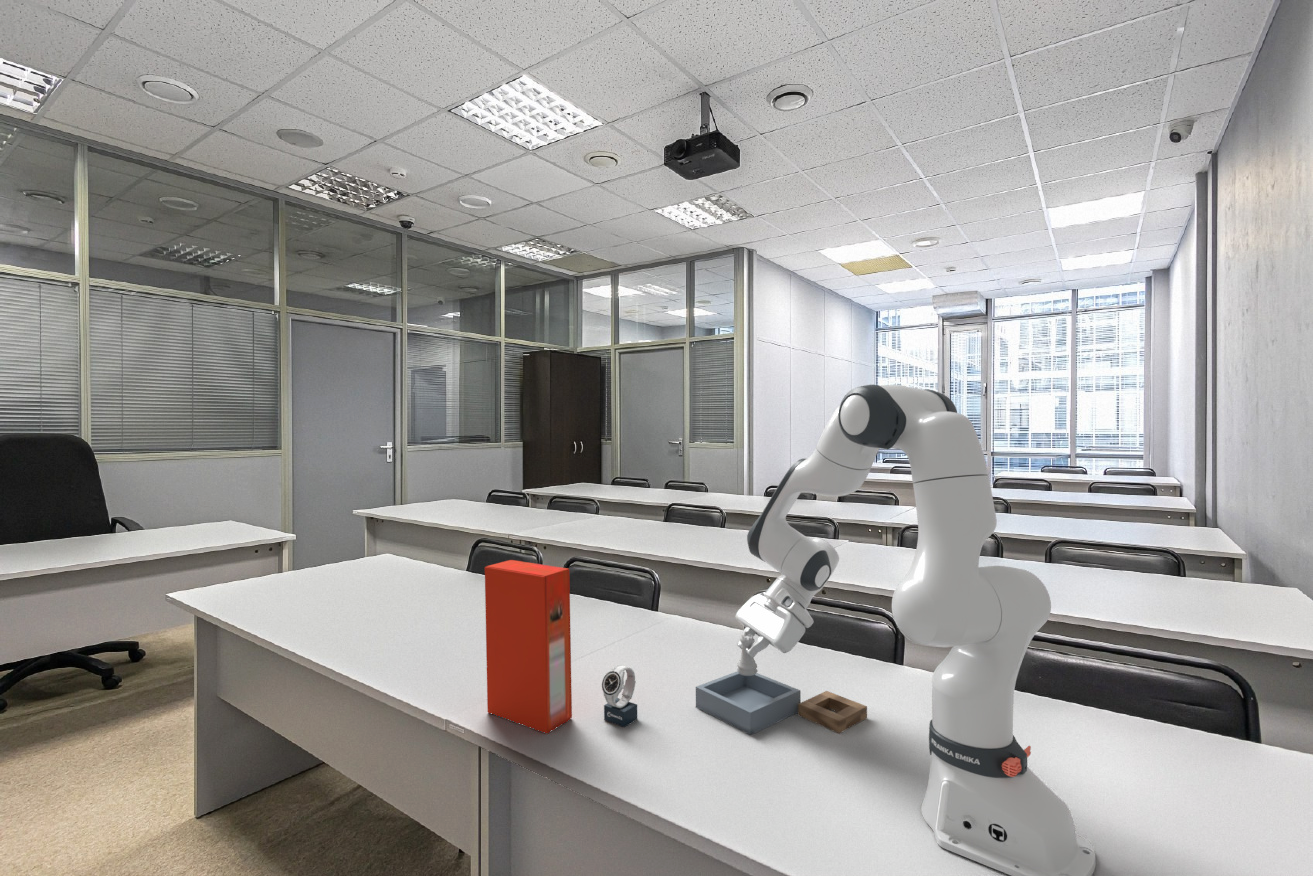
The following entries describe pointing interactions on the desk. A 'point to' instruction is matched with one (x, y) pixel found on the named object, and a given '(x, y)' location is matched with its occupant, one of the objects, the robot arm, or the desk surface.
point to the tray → (748, 701)
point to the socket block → (838, 722)
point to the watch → (612, 686)
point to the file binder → (528, 643)
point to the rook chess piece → (747, 657)
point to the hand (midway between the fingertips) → (744, 651)
